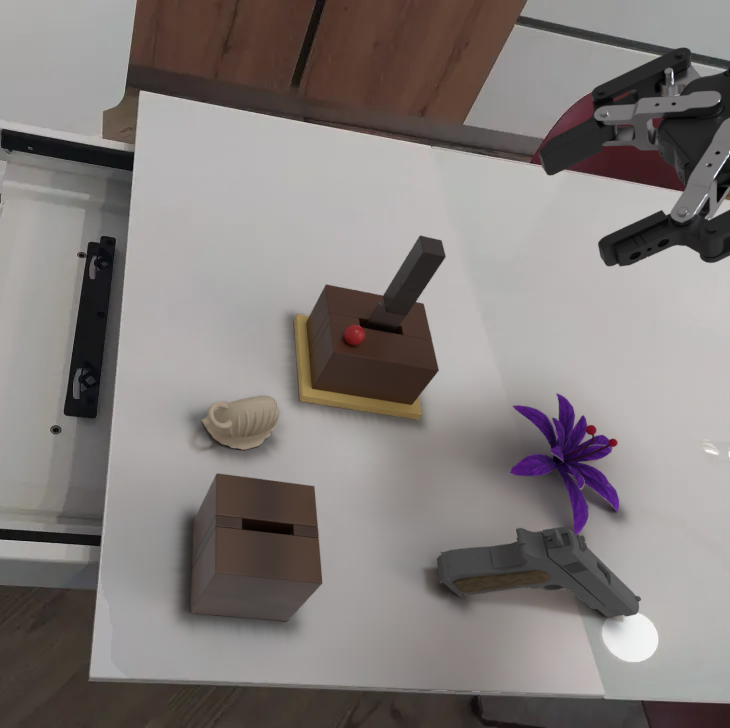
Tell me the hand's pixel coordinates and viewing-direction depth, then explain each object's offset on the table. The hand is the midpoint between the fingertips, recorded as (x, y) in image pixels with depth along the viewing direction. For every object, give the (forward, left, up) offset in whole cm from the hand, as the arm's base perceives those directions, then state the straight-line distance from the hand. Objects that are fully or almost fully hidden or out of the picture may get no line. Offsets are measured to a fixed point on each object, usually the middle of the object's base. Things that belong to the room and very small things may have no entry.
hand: (570, 207), depth 46 cm
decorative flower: (-19, -10, -33) cm, 40 cm away
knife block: (+8, +15, -33) cm, 37 cm away
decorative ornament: (+13, +2, -33) cm, 35 cm away
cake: (+4, -12, -33) cm, 35 cm away
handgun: (-17, +6, -33) cm, 38 cm away
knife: (+4, -12, -32) cm, 34 cm away
